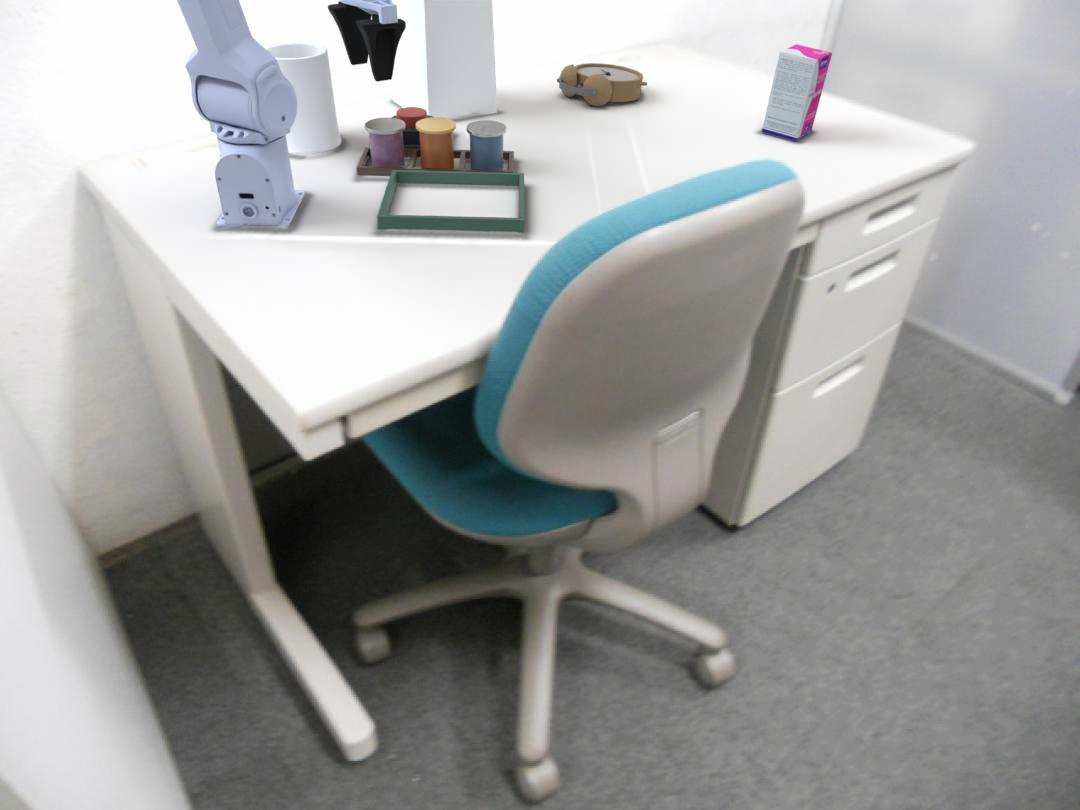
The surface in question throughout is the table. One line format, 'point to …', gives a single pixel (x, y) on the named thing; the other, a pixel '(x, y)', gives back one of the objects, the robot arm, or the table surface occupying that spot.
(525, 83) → the table surface
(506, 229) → the tray
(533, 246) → the table surface
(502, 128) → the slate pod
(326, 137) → the mug
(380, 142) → the mauve pod
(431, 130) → the coffee pod
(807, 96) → the supplement box
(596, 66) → the alarm clock
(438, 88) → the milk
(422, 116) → the button
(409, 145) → the button block
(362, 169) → the pod stand
